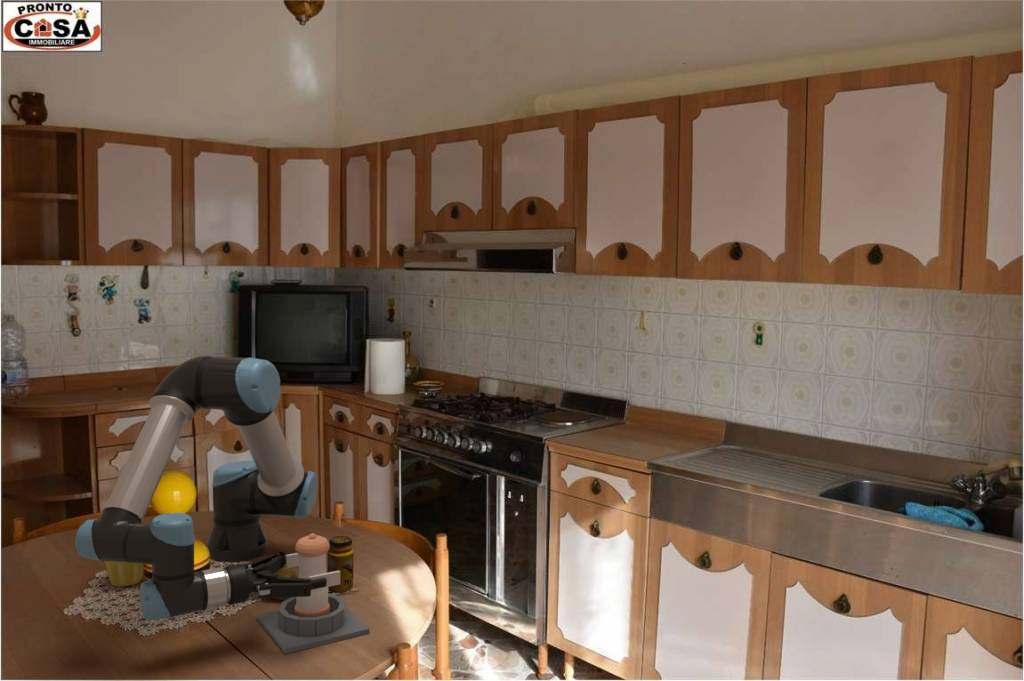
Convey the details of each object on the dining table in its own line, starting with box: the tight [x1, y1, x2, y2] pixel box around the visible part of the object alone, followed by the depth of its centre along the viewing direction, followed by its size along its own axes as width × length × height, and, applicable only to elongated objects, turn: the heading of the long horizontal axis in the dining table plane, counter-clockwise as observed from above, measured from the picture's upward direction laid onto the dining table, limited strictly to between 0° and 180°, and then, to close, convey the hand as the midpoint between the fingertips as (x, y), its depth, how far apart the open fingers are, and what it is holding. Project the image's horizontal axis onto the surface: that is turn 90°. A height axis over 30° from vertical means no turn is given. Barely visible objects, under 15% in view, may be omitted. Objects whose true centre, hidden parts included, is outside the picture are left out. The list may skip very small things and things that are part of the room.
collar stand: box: [256, 594, 370, 655], centre depth 180 cm, size 18×18×4 cm
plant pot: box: [104, 561, 144, 588], centre depth 200 cm, size 10×10×10 cm
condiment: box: [326, 535, 355, 596], centre depth 199 cm, size 7×8×12 cm
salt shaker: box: [294, 533, 330, 617], centre depth 179 cm, size 7×7×19 cm
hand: (327, 566), depth 181 cm, fingers open, 13 cm apart
